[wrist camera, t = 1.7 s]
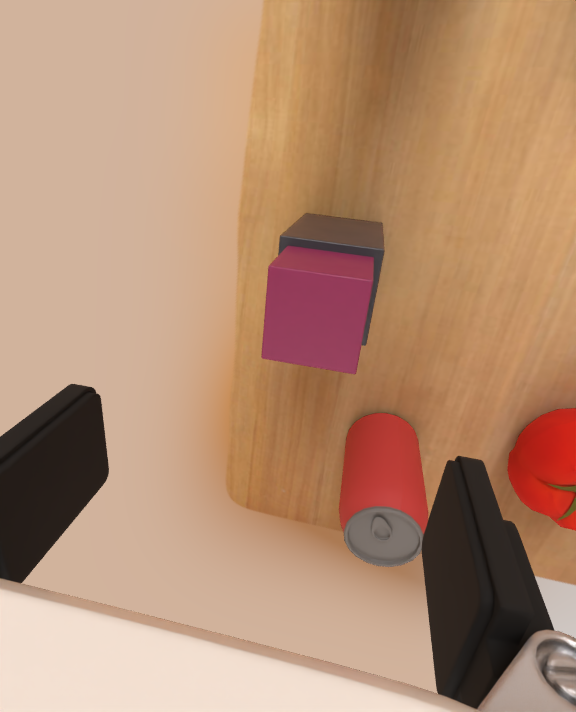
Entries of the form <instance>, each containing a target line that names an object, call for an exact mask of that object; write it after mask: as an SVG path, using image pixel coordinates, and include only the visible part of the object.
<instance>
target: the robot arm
mask: <svg viewBox="0 0 576 712" xmlns="http://www.w3.org/2000/svg"><path fill="white" fill-rule="evenodd" d="M108 473H109V468H108V458H107V449H106V441H105V431H104V422H103V413H102V404H101V398H100V395H99V394H96V391H95V389H94V388H92V387H87V386H82V385H76V384H70V385H69V386H67V387H66V388H65V389H63V390H62V391H60V392H59V393H58V394H56V395H55V396H54V397H52V398H51V399H50V400H49V401H47V402H46V403H45V404H43V405H42V406H41V407H39V408H38V409H37V410H35V411H34V412H33V413H31V414H30V415H29V416H27V417H26V418H25V419H23V420H22V421H21V422H19V423H18V424H17V425H15V426H14V427H13V428H11V429H10V430H9V431H7V432H6V433H5V434H3V435H2V436H1V437H0V712H576V639H575V638H574V637H571V636H569V635H567V634H564V633H562V632H559V631H554V628H553V625H552V622H551V620H550V617H549V614H548V612H547V609H546V606H545V603H544V601H543V598H542V595H541V593H540V590H539V587H538V585H537V582H536V579H535V576H534V573H533V571H532V568H531V565H530V563H529V560H528V557H527V554H526V552H525V549H524V546H523V544H522V541H521V538H520V535H519V533H518V530H517V528H516V526H515V524H514V523H512V522H511V521H506V520H503V518H502V515H501V512H500V509H499V507H498V504H497V501H496V498H495V495H494V492H493V489H492V486H491V483H490V480H489V477H488V474H487V471H486V468H485V465H484V463H483V461H482V460H478V459H472V458H467V457H462V456H457V458H456V459H455V461H451V460H448V462H447V464H446V467H445V470H444V473H443V476H442V479H441V482H440V485H439V488H438V492H437V495H436V498H435V501H434V504H433V507H432V510H431V513H430V517H429V520H428V523H427V526H426V529H425V532H424V535H423V540H422V558H423V567H424V577H425V586H426V595H427V605H428V614H429V623H430V632H431V642H432V651H433V660H434V670H435V678H436V687H437V692H438V694H437V693H434V692H431V691H428V690H424V689H421V688H418V687H415V686H412V685H409V684H406V683H402V682H399V681H395V680H391V679H388V678H385V677H381V676H378V675H374V674H370V673H367V672H363V671H360V670H356V669H352V668H349V667H345V666H342V665H338V664H334V663H330V662H327V661H323V660H319V659H315V658H312V657H308V656H304V655H300V654H296V653H292V652H289V651H285V650H281V649H277V648H273V647H269V646H266V645H261V644H258V643H254V642H250V641H246V640H242V639H239V638H235V637H231V636H227V635H223V634H220V633H216V632H212V631H208V630H204V629H200V628H196V627H192V626H188V625H184V624H180V623H176V622H173V621H169V620H165V619H161V618H157V617H153V616H149V615H145V614H141V613H137V612H133V611H129V610H125V609H121V608H117V607H113V606H110V605H106V604H102V603H97V602H94V601H89V600H85V599H81V598H78V597H73V596H70V595H65V594H61V593H57V592H53V591H49V590H45V589H41V588H37V587H33V586H29V585H25V584H21V583H22V582H23V581H24V580H25V579H26V577H27V576H28V575H29V574H30V572H31V571H32V570H33V569H34V568H35V566H36V565H37V564H38V563H39V562H40V560H41V559H42V558H43V557H44V555H45V554H46V553H47V552H48V551H49V550H50V548H51V547H52V546H53V545H54V544H55V542H56V541H57V540H58V539H59V537H60V536H61V535H62V534H63V533H64V531H65V530H66V529H67V528H68V527H69V525H70V524H71V523H72V522H73V520H74V519H75V518H76V517H77V516H78V515H79V513H80V512H81V511H82V510H83V508H84V507H85V506H86V505H87V504H88V502H89V501H90V500H91V499H92V498H93V496H94V495H95V494H96V493H97V492H98V490H99V489H100V488H101V487H102V486H103V484H104V483H105V481H106V479H107V477H108Z"/></svg>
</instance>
